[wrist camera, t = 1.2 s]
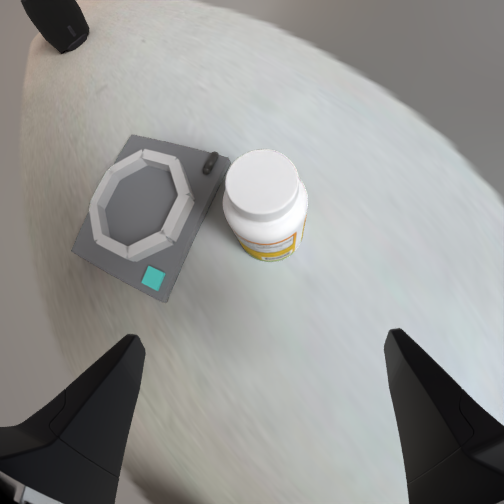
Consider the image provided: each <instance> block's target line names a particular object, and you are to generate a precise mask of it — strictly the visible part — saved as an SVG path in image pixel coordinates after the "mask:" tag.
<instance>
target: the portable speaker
mask: <svg viewBox="0 0 504 504" xmlns="http://www.w3.org/2000/svg"><path fill="white" fill-rule="evenodd" d="M21 2H22V5H23V7H24V9H25V11H26V13H27V15H28V16H29V18H30V19H31V21H32V22H33V24H34V25H35V26H36V28H37V29H38V30H39V32H40V33H41V34H42V36H43V37H44V38H45V39H46V40H47V41H48V42H49V43H50V44H51V45H52V46H53V47H55V48H56V49H57V50H58V51H59V52H60V53H61V54H62V53H64V51H66V50H71V51H72V50H74V49H76V48H77V47H78V46H80V45H81V44H82V43H83V42H84V41H85V40H86V39H87V33H88V32H89V27H88V24H87V22H86V20H85V18H84V15H83V13H82V11H81V9H80V7H79V5H78V4H77V2H76V1H75V0H21Z"/></svg>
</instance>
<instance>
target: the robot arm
mask: <svg viewBox="0 0 504 504" xmlns="http://www.w3.org/2000/svg"><path fill="white" fill-rule="evenodd" d="M384 353H385V360H386V367H387V375H388V383H389V389H390V394H391V398H392V402H393V407H394V411H395V416H396V421H397V426H398V431H399V436H400V442H401V447H402V453H403V459H404V465H405V472H406V479H407V488H408V497H409V504H504V426H503V425H502V424H501V423H500V422H498V421H497V420H496V419H495V418H494V417H492V416H491V415H490V414H489V413H488V412H487V411H485V410H484V409H483V408H482V407H481V406H480V405H479V404H477V403H476V402H475V401H474V400H473V399H472V398H471V397H470V396H469V395H468V394H467V393H466V392H465V391H464V390H463V389H462V388H461V387H460V386H459V385H458V384H457V383H456V381H455V380H454V379H453V378H452V377H451V376H450V375H449V374H448V373H447V372H446V371H445V370H444V369H443V368H442V367H441V366H440V365H439V364H437V363H436V362H435V361H434V360H433V359H432V358H431V357H430V356H429V355H428V354H427V353H426V352H425V351H424V350H423V349H422V348H421V347H420V346H419V345H418V344H417V343H416V342H415V341H414V340H413V339H412V338H411V337H410V336H409V335H407V334H406V333H405V332H404V331H403V330H402V329H400V328H397V329H391V330H390V331H389V332H388V335H387V338H386V341H385V344H384ZM144 360H145V348H144V346H143V344H142V342H141V340H140V338H139V336H137V335H134V334H127V335H126V336H124V337H123V338H122V339H121V340H120V341H119V342H118V343H116V344H115V345H114V346H113V347H112V348H111V349H110V350H108V351H107V352H106V353H105V354H104V355H103V356H102V357H100V358H99V359H98V360H97V361H96V362H95V363H94V364H92V365H91V366H90V367H89V368H88V369H87V370H86V371H85V372H83V373H82V374H81V375H80V376H79V377H78V378H77V379H76V380H74V381H73V382H72V383H71V384H70V385H69V386H68V387H67V388H66V389H64V390H63V391H62V392H61V393H60V394H59V395H58V396H56V397H55V398H54V399H53V400H52V401H51V402H49V403H48V404H47V405H46V406H44V407H43V408H42V409H40V410H39V411H37V412H36V413H35V414H33V415H32V416H31V417H29V418H28V419H27V420H25V421H24V422H22V423H21V424H19V425H16V426H11V427H0V504H115V498H116V492H117V486H118V481H119V476H120V470H121V466H122V461H123V456H124V451H125V447H126V443H127V438H128V434H129V430H130V425H131V421H132V417H133V413H134V409H135V405H136V402H137V398H138V394H139V390H140V385H141V379H142V372H143V366H144Z"/></svg>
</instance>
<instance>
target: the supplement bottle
mask: <svg viewBox="0 0 504 504" xmlns="http://www.w3.org/2000/svg"><path fill="white" fill-rule="evenodd" d="M225 187H226V189H225V192H224V196H223V210H224V214H225V217H226V219H227V221H228V223H229V225H230V227H231V228H232V230H233V232H234V233H235V235H236V237H237V238H238V240H239V242H240V243H241V245H242V247H243V248H244V249H245V251H246V252H247V253H248V254H249V255H250V256H252V257H253V258H255V259H257V260H259V261H263V262H278V261H281V260H284V259H286V258H288V257H289V256H291V255H292V254H293V253H294V252H295V251H296V250H297V248H298V247H299V245H300V243H301V240H302V237H303V231H304V226H305V221H306V216H307V210H308V196H307V191H306V188H305V186H304V184H303V182H302V180H301V179H300V178H299V176H298V172H297V170H296V167H295V166H294V164H293V163H292V162H291V160H290V159H289V158H287V157H286V156H285V155H283V154H281V153H279V152H277V151H274V150H269V149H258V150H253V151H250V152H247V153H245V154H243V155H242V156H240V157H239V158H237V159H236V160H235V161H234V162H233V163H232V165H231V166H230V168H229V170H228V172H227V175H226V180H225Z"/></svg>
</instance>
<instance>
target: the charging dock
mask: <svg viewBox="0 0 504 504" xmlns="http://www.w3.org/2000/svg"><path fill="white" fill-rule="evenodd" d="M230 164H231V163H230V160H229V158H228V157H224V156H220V155H219V154H218V153H217V152H212V153H209V152H205V151H202V150H198V149H194V148H190V147H186V146H182V145H177V144H173V143H169V142H164V141H160V140H155V139H151V138H146V137H141V136H137V135H131V137H130V138H129V140H128V141H127V143H126V145H125V146H124V148H123V149H122V151H121V153H120V154H119V156H118V158H117V159H116V161H115V163H114V165H112V166H111V167H109V168H110V170H107V171H106V173H105V174H104V176H103V178H102V180H101V182H100V184H99V185H98V187H97V189H96V191H95V193H94V195H93V197H92V199H91V201H90V203H89V204H91V205H90V206H89V212H88V214H87V216H86V218H85V221H84V223H83V225H82V227H81V229H80V232H79V234H78V236H77V238H76V241H75V243H74V245H73V248H72V250H71V251H72V252H74V253H75V254H77V255H78V256H80V257H82V258H83V259H85V260H87V261H88V262H90V263H92V264H93V265H95V266H97V267H99V268H100V269H102V270H104V271H105V272H107V273H109V274H111V275H113V276H114V277H116V278H118V279H120V280H121V281H123V282H125V283H127V284H129V285H131V286H132V287H134V288H136V289H138V290H140V291H142V292H144V293H146V294H147V295H149V296H151V297H153V298H155V299H157V300H159V301H161V302H165V303H166V302H167V300H168V298H169V295H170V293H171V290H172V288H173V286H174V283H175V281H176V279H177V276H178V274H179V272H180V270H181V267H182V265H183V263H184V260H185V258H186V256H187V254H188V251H189V249H190V247H191V245H192V243H193V240H194V238H195V236H196V234H197V232H198V230H199V227H200V225H201V223H202V221H203V219H204V217H205V215H206V212H207V210H208V208H209V206H210V204H211V202H212V200H213V198H214V196H215V194H216V192H217V190H218V188H219V186H220V184H221V182H222V180H223V178H224V176H225V174H226V172H227V170H228V168H229V166H230Z"/></svg>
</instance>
